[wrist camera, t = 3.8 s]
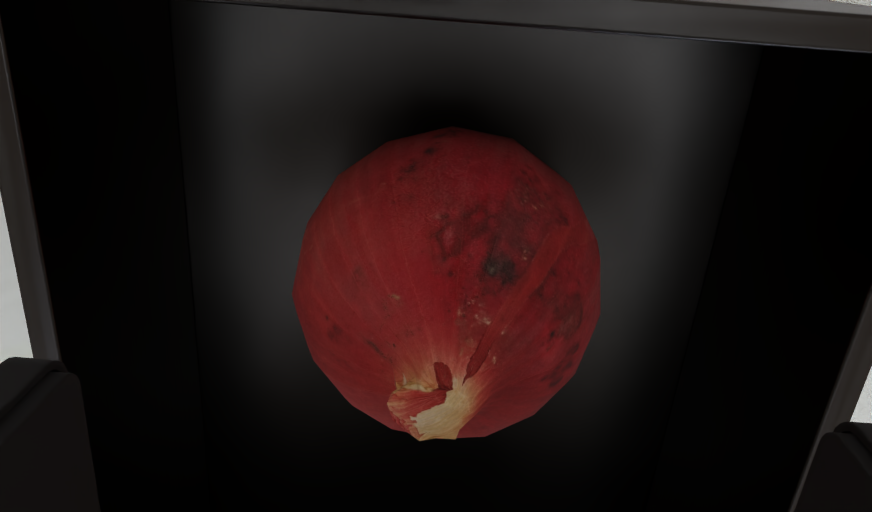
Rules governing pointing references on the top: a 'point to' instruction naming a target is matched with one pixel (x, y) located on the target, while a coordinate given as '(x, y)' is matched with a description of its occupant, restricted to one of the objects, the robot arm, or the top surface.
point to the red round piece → (448, 283)
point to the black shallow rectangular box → (410, 115)
